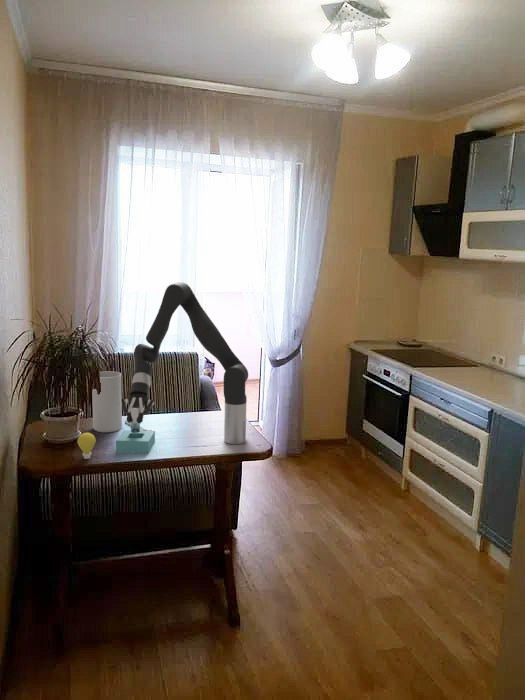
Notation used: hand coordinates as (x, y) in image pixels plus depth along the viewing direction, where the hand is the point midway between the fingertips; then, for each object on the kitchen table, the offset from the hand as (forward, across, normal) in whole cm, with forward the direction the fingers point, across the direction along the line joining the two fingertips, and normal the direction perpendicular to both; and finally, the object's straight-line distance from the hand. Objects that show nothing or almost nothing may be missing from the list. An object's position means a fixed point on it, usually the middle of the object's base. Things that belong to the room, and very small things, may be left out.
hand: (134, 422), depth 227 cm
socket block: (+7, 0, +9) cm, 11 cm away
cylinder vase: (-9, -18, +26) cm, 33 cm away
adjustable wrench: (-10, -4, +27) cm, 29 cm away
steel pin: (+2, 0, +5) cm, 5 cm away
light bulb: (+16, -16, 0) cm, 22 cm away
